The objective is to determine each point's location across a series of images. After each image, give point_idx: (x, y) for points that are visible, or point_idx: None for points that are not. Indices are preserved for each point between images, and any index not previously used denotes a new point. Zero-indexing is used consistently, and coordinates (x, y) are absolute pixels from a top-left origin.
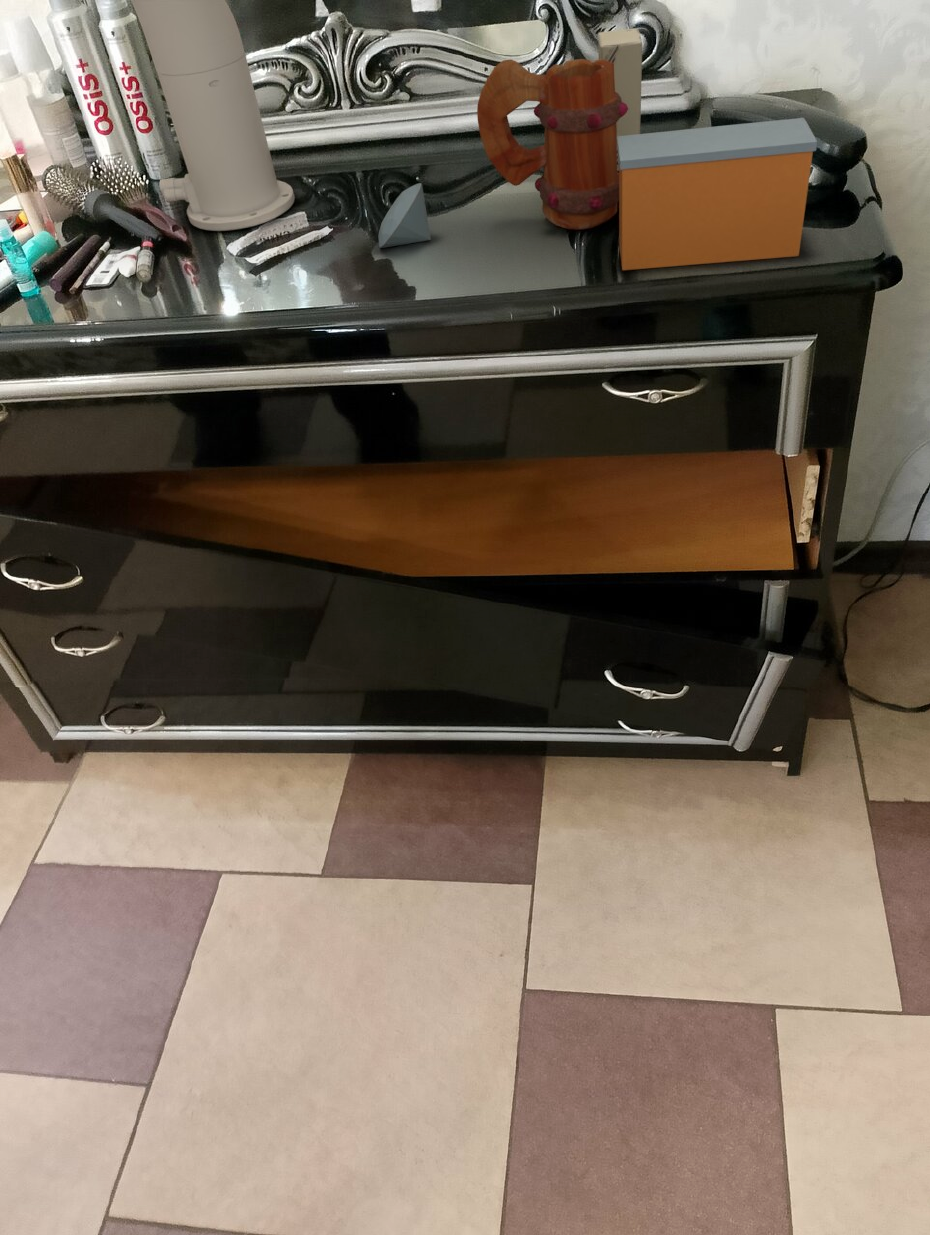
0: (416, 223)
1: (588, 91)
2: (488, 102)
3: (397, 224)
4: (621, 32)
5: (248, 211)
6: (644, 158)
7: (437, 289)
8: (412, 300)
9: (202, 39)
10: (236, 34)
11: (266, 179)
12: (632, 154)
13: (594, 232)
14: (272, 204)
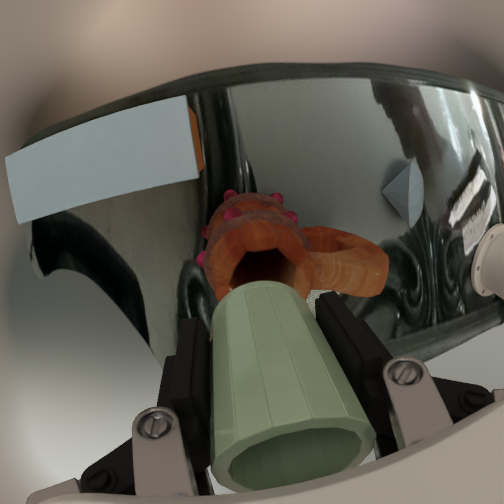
0: (398, 177)
1: (244, 231)
2: (376, 253)
3: (412, 162)
4: None
5: (494, 239)
6: (156, 102)
7: (357, 94)
8: (371, 79)
9: None
10: None
11: (494, 262)
12: (171, 112)
13: None
14: (484, 252)
